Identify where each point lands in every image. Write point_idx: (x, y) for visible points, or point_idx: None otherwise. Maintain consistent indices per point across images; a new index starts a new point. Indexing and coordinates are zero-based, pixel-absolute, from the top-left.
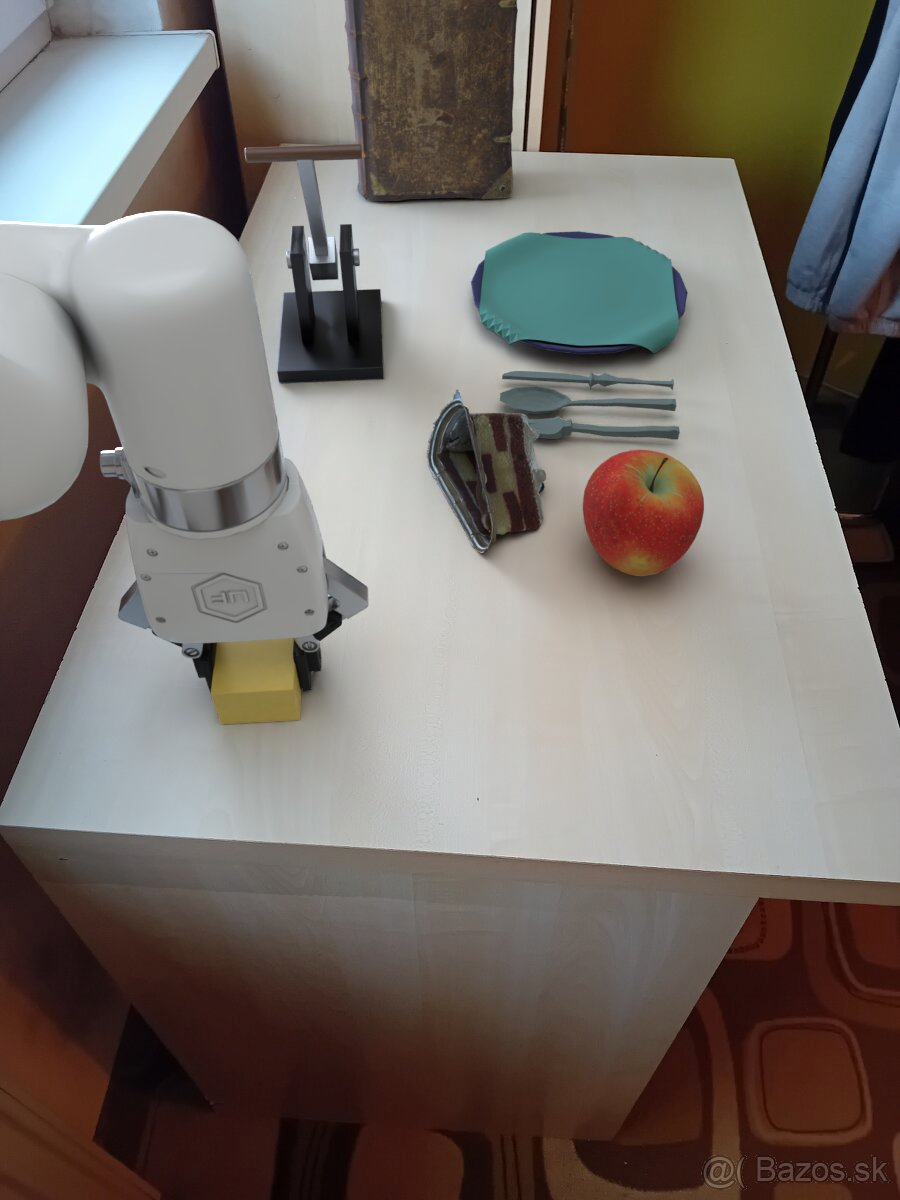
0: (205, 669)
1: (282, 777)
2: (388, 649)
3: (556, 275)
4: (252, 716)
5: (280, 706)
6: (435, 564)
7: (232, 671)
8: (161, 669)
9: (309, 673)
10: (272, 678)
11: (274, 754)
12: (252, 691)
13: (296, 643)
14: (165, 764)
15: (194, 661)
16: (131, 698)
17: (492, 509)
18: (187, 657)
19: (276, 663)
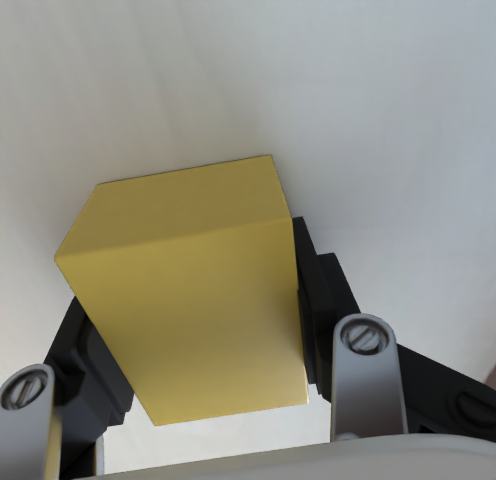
0: (318, 282)
1: (67, 12)
2: (4, 334)
3: None
4: (195, 178)
5: (117, 208)
6: None
7: (246, 286)
8: (406, 256)
9: None
10: (128, 281)
11: (119, 87)
12: (169, 240)
13: (80, 382)
14: (390, 25)
15: (349, 296)
16: (466, 193)
17: None
18: (372, 315)
19: (138, 316)
